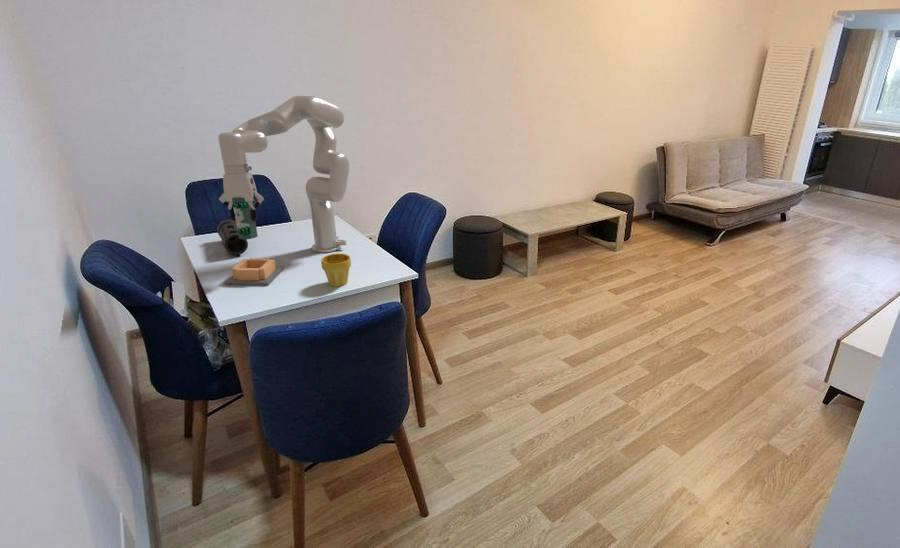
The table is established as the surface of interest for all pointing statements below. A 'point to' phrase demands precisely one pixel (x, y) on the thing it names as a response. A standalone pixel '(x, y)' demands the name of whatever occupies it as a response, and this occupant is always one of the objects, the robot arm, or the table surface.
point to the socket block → (254, 272)
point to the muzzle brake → (231, 237)
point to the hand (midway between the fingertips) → (245, 219)
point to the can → (244, 219)
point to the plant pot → (336, 268)
